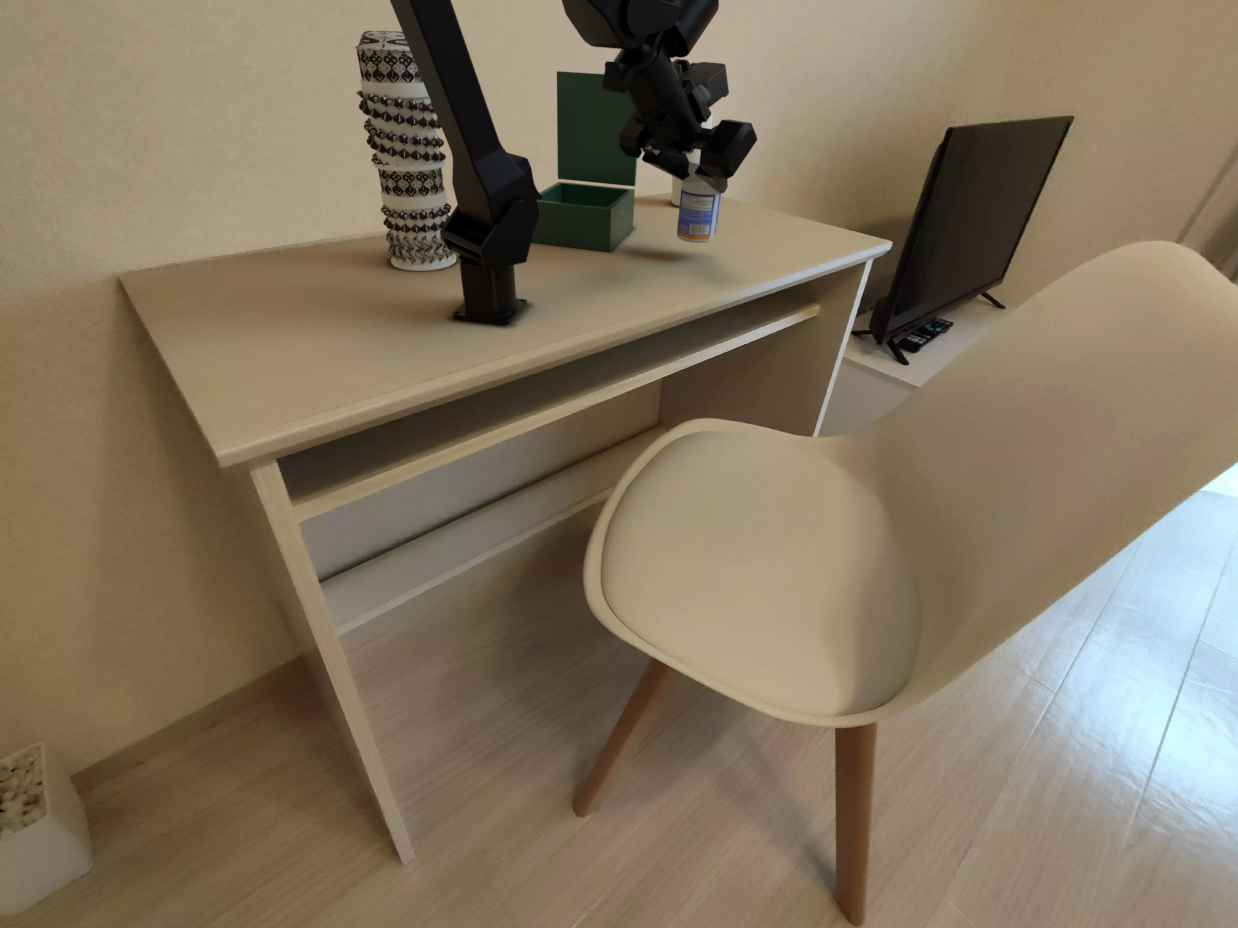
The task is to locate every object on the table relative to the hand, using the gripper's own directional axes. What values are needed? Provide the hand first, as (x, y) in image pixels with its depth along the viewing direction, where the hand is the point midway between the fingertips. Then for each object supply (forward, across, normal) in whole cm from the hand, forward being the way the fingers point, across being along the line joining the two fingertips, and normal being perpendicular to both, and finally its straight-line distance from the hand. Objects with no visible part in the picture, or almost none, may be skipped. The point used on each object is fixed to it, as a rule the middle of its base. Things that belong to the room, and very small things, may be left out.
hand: (708, 186), depth 82 cm
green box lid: (-4, +22, -2) cm, 22 cm away
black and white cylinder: (-16, +20, +30) cm, 40 cm away
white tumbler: (+21, +22, -8) cm, 32 cm away
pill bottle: (+4, 0, +6) cm, 7 cm away
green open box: (+2, +18, +12) cm, 22 cm away
